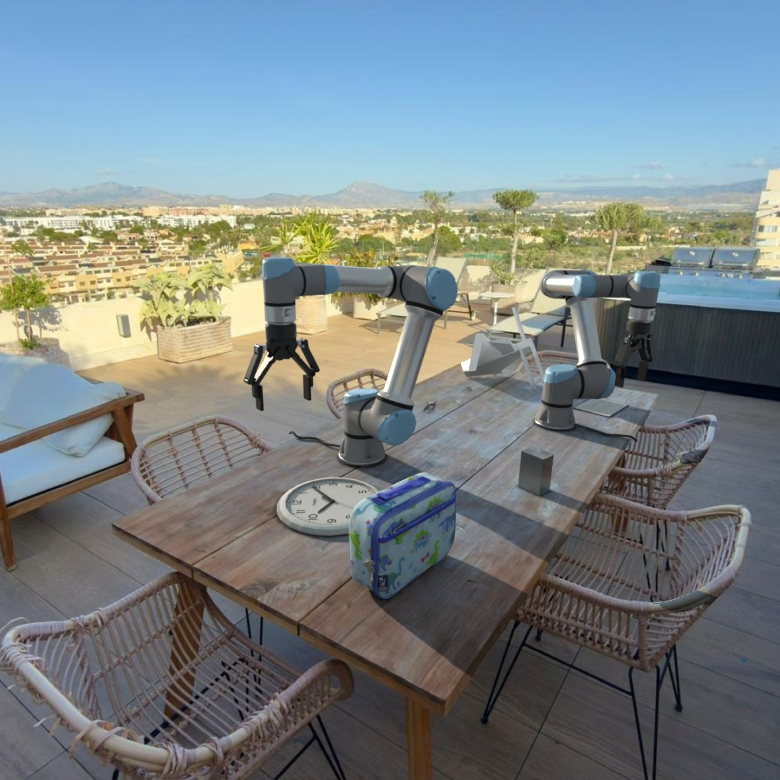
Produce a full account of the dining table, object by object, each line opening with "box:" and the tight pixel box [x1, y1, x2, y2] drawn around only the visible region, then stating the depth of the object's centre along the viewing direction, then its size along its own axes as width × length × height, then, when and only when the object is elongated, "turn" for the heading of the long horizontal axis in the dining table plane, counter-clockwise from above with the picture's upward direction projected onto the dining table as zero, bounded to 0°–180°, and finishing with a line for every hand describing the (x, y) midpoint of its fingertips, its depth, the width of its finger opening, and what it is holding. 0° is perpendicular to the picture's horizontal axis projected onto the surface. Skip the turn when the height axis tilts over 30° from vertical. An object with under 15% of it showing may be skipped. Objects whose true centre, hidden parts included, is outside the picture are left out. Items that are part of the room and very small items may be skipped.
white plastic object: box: [460, 306, 545, 391], centre depth 259 cm, size 37×45×31 cm
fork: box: [422, 395, 437, 412], centre depth 223 cm, size 3×16×2 cm, turn 160°
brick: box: [517, 446, 555, 497], centre depth 152 cm, size 8×5×12 cm
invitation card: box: [573, 398, 629, 418], centre depth 226 cm, size 21×1×15 cm
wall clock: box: [276, 476, 381, 537], centre depth 142 cm, size 30×2×30 cm
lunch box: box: [348, 471, 457, 600], centre depth 113 cm, size 26×11×21 cm, turn 134°
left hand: (284, 404), depth 134 cm, fingers open, 13 cm apart
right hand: (630, 383), depth 175 cm, fingers open, 13 cm apart
